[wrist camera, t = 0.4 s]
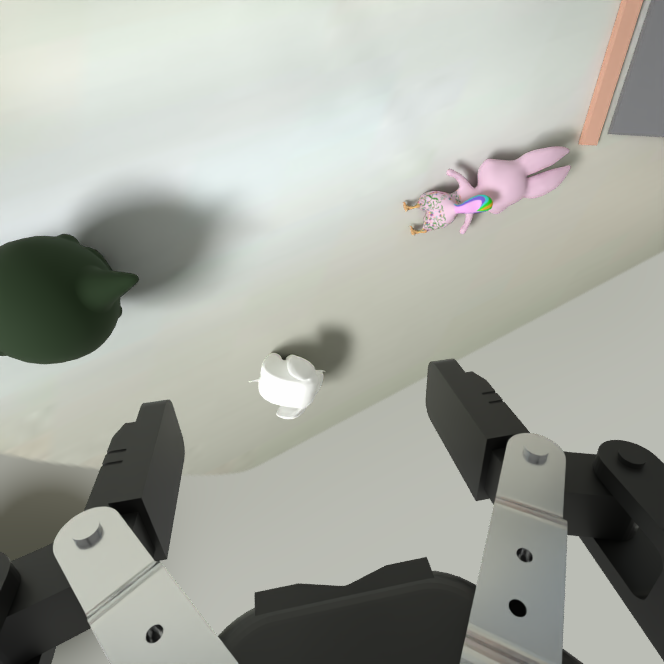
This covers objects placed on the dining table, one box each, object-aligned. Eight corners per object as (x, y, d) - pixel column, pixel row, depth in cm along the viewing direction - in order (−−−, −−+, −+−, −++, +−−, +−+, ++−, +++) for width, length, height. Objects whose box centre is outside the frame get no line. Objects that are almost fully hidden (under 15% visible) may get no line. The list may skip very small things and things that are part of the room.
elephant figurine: (315, 393, 48) (323, 428, 43) (244, 387, 46) (243, 423, 41) (328, 342, 45) (338, 373, 40) (253, 333, 43) (253, 364, 38)
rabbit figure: (411, 242, 43) (563, 187, 40) (423, 265, 38) (597, 205, 35) (394, 182, 40) (557, 119, 37) (405, 199, 35) (594, 127, 32)
